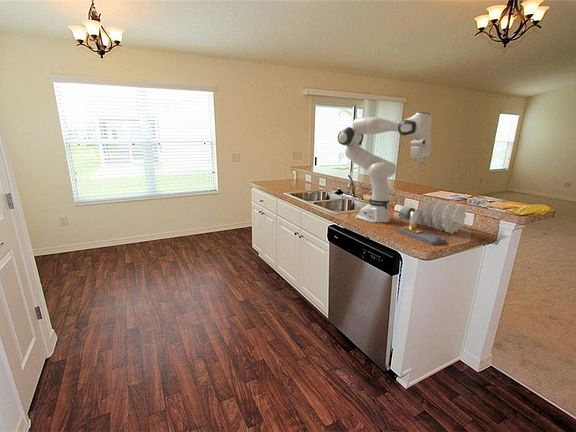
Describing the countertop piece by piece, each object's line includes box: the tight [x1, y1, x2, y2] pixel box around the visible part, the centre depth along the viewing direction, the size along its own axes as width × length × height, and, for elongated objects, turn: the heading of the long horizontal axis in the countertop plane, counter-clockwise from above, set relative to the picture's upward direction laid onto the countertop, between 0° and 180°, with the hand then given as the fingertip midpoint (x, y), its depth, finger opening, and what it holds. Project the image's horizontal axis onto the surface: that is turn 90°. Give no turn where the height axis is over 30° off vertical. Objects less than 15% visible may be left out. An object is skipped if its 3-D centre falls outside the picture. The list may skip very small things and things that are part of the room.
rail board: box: [396, 227, 447, 246], centre depth 166 cm, size 25×10×2 cm, turn 24°
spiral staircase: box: [415, 199, 467, 235], centre depth 177 cm, size 18×18×25 cm
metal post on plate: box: [402, 210, 424, 233], centre depth 169 cm, size 11×5×11 cm, turn 24°
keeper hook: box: [433, 234, 443, 241], centre depth 156 cm, size 3×3×2 cm
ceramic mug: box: [397, 206, 416, 220], centre depth 205 cm, size 11×8×8 cm
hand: (420, 164), depth 175 cm, fingers open, 8 cm apart
